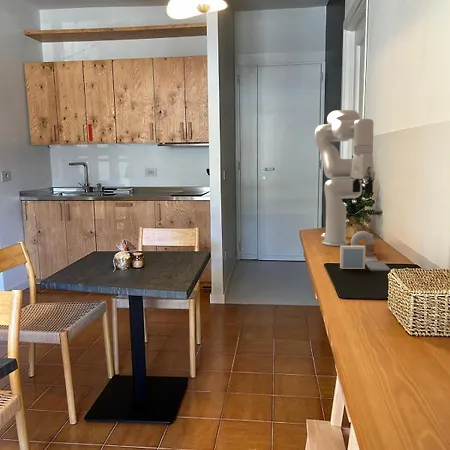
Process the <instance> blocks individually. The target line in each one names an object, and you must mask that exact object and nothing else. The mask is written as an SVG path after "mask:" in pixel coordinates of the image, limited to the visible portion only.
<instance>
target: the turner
mask: <svg viewBox="0 0 450 450" xmlns="http://www.w3.org/2000/svg"><path fill="white" fill-rule="evenodd" d="M363 246H365V247H366V248H365V262H379V259H378V258H377V257H376V256H375V243H374V244H373V243H366V242H363Z"/></svg>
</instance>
